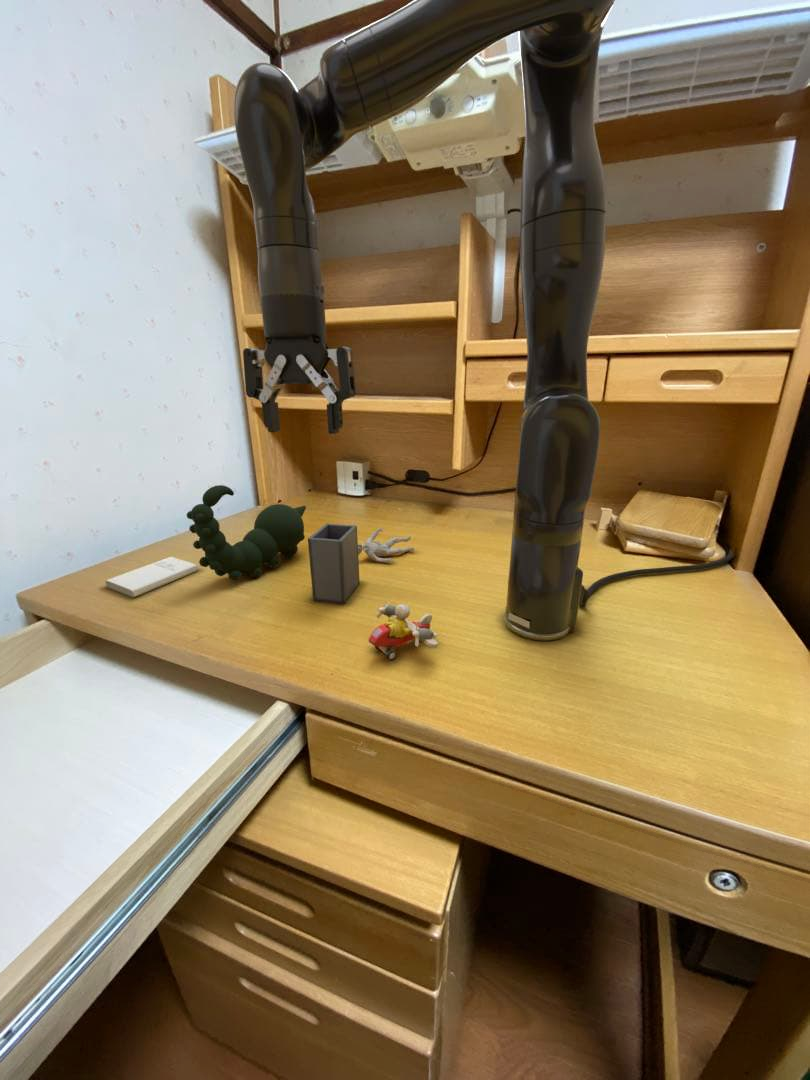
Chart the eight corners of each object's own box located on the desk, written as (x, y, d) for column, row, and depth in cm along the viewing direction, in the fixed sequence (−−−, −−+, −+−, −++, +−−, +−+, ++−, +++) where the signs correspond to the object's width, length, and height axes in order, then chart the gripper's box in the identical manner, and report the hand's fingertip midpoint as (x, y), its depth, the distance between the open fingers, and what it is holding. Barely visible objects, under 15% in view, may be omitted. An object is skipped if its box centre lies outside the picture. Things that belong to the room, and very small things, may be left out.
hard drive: (107, 588, 81) (171, 563, 91) (134, 598, 77) (198, 571, 87) (104, 579, 81) (169, 555, 91) (132, 590, 77) (196, 563, 87)
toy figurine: (231, 605, 78) (327, 546, 97) (205, 500, 70) (315, 458, 89) (197, 591, 83) (295, 538, 102) (168, 492, 75) (280, 454, 94)
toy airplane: (367, 661, 60) (365, 619, 58) (381, 625, 69) (380, 586, 66) (436, 667, 59) (437, 624, 57) (442, 630, 67) (443, 590, 65)
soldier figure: (418, 561, 93) (371, 558, 85) (404, 571, 96) (357, 569, 89) (409, 528, 96) (362, 522, 89) (395, 538, 99) (349, 533, 92)
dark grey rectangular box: (325, 523, 79) (307, 538, 72) (356, 525, 78) (341, 541, 71) (330, 580, 83) (313, 600, 76) (359, 583, 82) (345, 604, 75)
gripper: (221, 293, 53) (240, 435, 59) (337, 288, 51) (345, 437, 56) (254, 301, 60) (269, 427, 66) (358, 297, 57) (363, 429, 63)
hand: (304, 432), depth 61 cm, fingers open, 8 cm apart
